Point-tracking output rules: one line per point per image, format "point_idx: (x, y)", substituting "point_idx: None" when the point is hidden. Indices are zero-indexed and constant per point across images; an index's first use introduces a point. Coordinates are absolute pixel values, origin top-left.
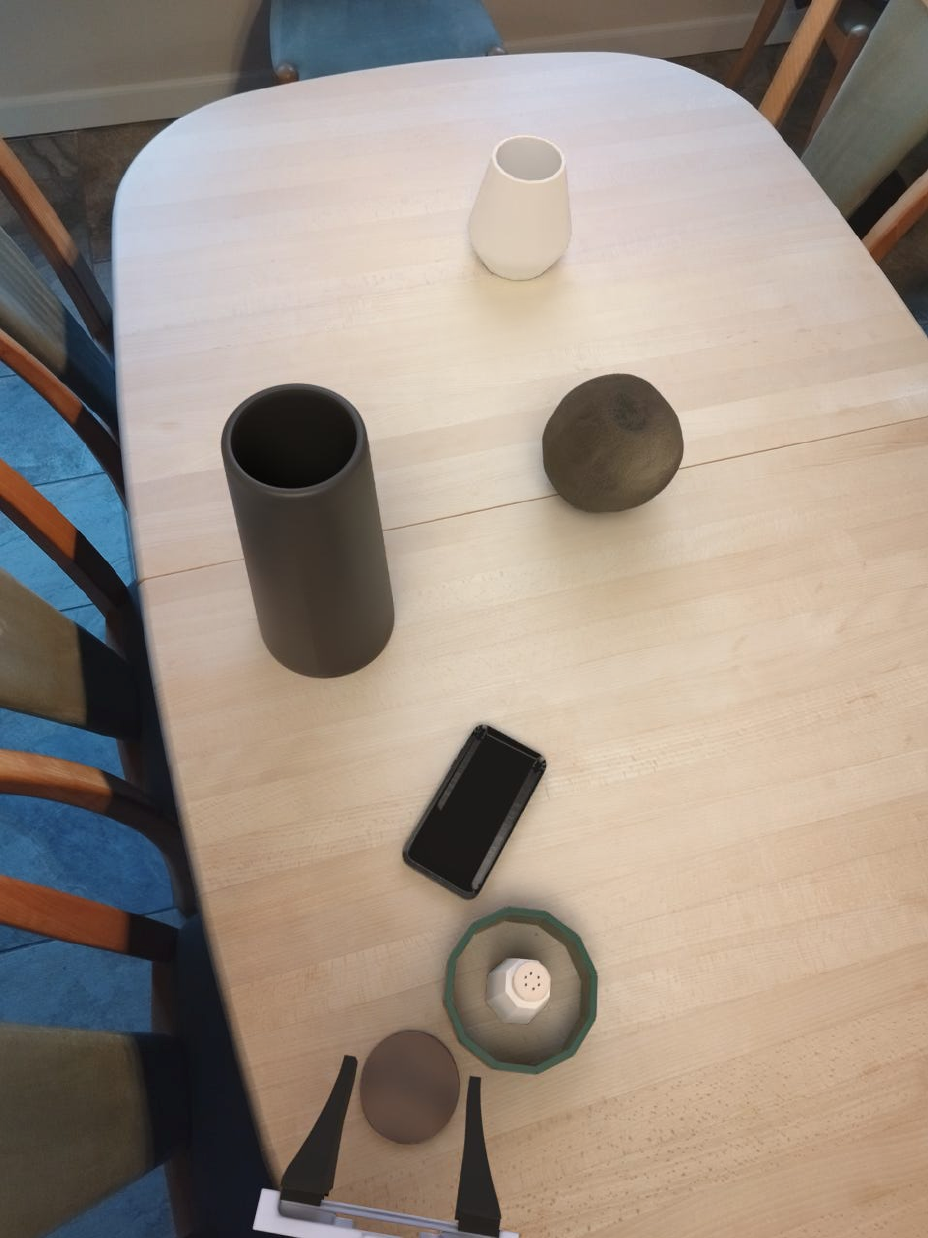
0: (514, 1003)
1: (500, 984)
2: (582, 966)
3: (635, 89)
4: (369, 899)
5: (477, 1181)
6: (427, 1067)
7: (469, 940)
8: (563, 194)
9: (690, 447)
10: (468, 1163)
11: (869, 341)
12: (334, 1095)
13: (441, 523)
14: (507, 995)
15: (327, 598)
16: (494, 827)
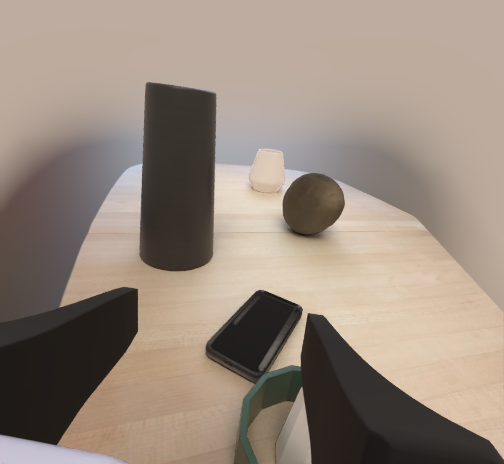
0: None
1: (295, 411)
2: None
3: (298, 173)
4: (175, 378)
5: (391, 404)
6: None
7: (260, 390)
8: (282, 161)
9: (342, 227)
10: (350, 381)
11: (397, 215)
12: (84, 301)
13: (237, 233)
14: None
15: (182, 185)
16: (272, 336)
